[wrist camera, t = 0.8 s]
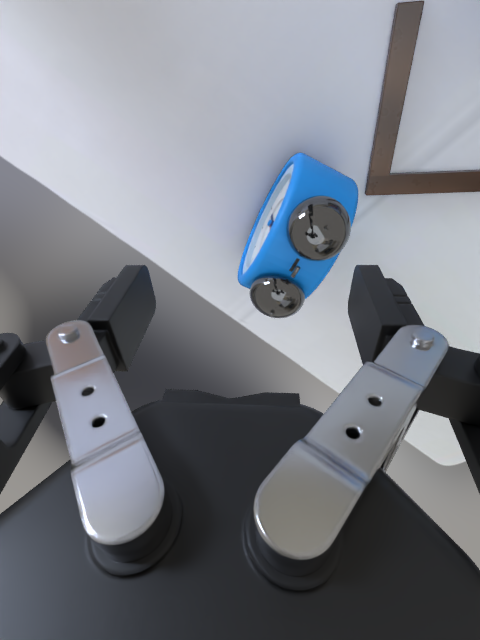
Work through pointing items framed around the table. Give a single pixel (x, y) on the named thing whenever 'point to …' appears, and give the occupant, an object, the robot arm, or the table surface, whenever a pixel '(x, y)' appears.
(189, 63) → the table surface
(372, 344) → the robot arm
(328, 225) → the alarm clock
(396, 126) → the frame
